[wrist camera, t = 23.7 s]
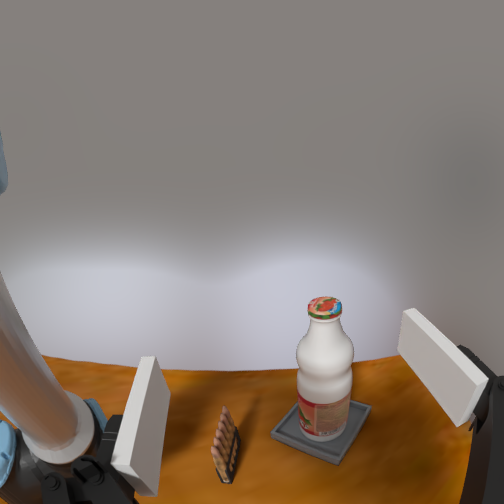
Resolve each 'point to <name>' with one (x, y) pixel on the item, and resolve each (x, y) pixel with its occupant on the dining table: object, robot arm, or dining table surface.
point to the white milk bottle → (324, 372)
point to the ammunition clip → (226, 447)
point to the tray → (326, 451)
